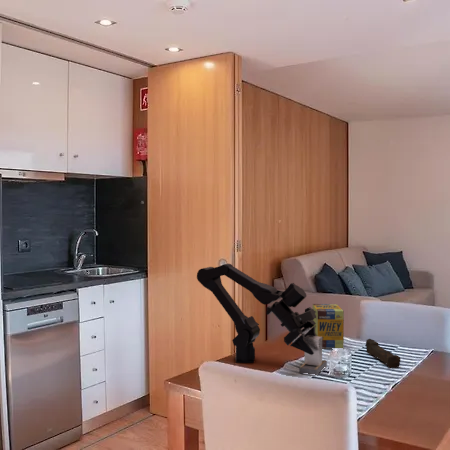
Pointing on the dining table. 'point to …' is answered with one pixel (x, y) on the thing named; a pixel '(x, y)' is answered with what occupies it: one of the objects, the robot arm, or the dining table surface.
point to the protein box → (329, 325)
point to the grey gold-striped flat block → (312, 368)
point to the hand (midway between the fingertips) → (317, 350)
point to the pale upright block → (314, 350)
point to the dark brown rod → (382, 354)
